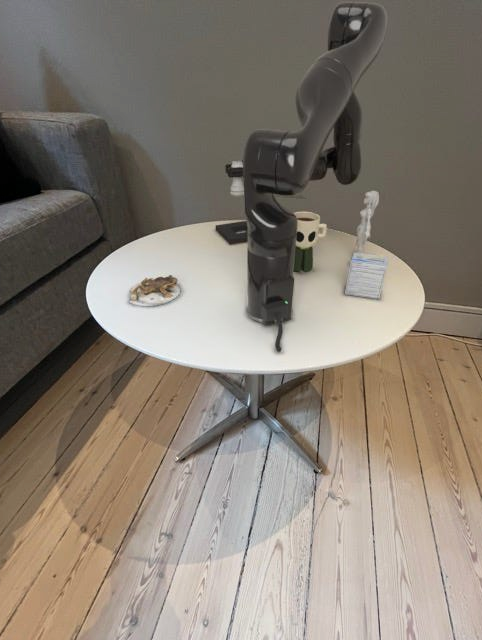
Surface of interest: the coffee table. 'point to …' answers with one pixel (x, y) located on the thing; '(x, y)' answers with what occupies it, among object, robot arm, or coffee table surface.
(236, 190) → the rook chess piece
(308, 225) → the character mug
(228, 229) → the socket pad
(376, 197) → the human figurine
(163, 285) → the frog figurine
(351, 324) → the coffee table surface
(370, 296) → the medicine box
